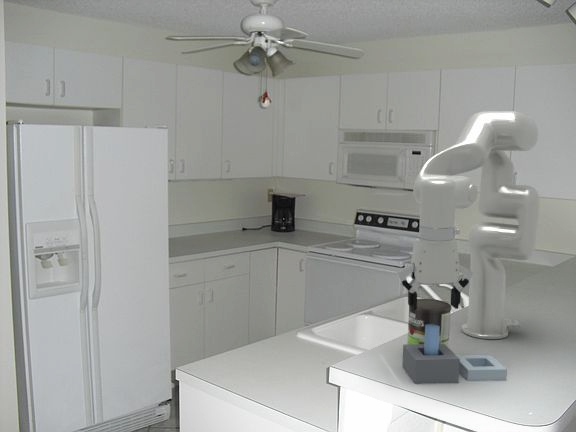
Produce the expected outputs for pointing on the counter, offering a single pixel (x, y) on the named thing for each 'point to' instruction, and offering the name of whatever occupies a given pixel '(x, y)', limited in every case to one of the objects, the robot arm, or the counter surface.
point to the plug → (431, 339)
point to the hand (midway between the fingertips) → (433, 307)
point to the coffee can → (429, 320)
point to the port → (430, 365)
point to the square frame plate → (481, 368)
